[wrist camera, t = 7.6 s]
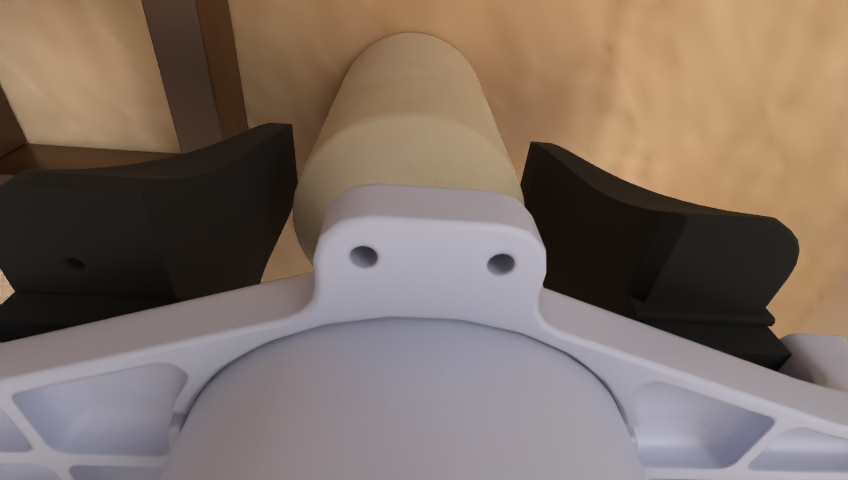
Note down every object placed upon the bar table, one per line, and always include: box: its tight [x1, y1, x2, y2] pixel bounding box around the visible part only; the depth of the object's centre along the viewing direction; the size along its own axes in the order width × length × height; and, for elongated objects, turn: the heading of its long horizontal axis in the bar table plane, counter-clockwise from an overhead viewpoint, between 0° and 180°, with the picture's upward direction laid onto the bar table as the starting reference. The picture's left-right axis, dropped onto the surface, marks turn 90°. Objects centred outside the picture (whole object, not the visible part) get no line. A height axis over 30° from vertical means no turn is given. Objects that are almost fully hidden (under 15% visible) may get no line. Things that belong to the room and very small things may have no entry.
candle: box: [293, 32, 525, 266], centre depth 13 cm, size 6×6×10 cm
